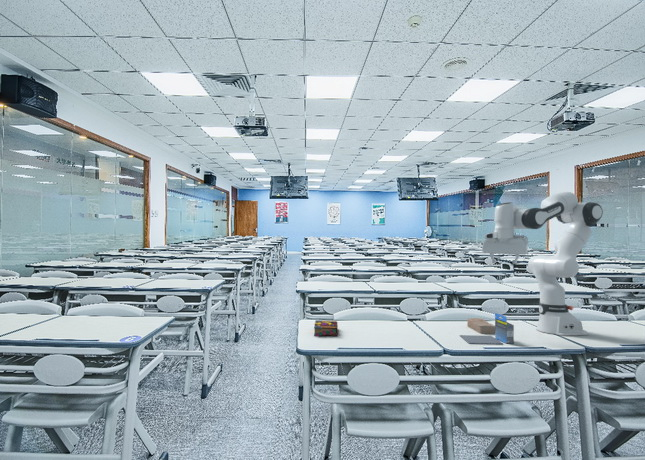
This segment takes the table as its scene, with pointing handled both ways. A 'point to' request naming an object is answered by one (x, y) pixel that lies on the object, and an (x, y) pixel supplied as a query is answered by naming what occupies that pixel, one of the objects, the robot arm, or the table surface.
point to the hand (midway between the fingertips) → (504, 263)
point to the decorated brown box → (325, 328)
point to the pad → (480, 339)
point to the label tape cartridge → (503, 330)
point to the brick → (481, 326)
